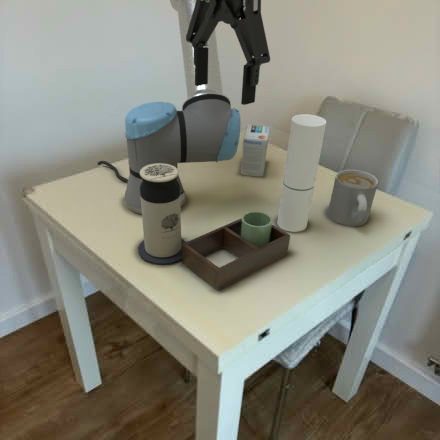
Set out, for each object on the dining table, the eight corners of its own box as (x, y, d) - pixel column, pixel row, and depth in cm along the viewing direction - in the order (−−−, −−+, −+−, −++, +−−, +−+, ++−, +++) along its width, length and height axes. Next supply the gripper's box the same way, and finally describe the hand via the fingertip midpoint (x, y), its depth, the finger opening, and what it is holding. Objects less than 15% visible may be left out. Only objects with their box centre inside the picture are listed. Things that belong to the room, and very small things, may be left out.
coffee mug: (327, 203, 118) (334, 167, 112) (365, 207, 118) (375, 171, 111) (328, 230, 108) (337, 193, 102) (371, 235, 107) (382, 197, 101)
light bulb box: (243, 159, 137) (246, 123, 130) (266, 161, 137) (269, 125, 130) (240, 175, 129) (242, 137, 122) (263, 177, 129) (267, 140, 122)
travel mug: (140, 241, 101) (133, 165, 89) (175, 235, 103) (172, 160, 92) (150, 261, 95) (144, 183, 84) (186, 254, 98) (185, 177, 86)
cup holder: (182, 263, 96) (181, 243, 93) (251, 231, 107) (253, 213, 104) (217, 291, 90) (218, 271, 87) (287, 254, 100) (290, 235, 97)
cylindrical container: (309, 219, 112) (328, 117, 96) (303, 234, 107) (323, 128, 91) (281, 214, 114) (295, 112, 97) (274, 228, 108) (288, 123, 92)
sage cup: (233, 248, 101) (235, 217, 96) (254, 238, 105) (257, 208, 99) (253, 262, 98) (256, 230, 92) (274, 251, 101) (278, 220, 96)
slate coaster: (128, 247, 100) (128, 245, 100) (169, 231, 106) (169, 228, 105) (157, 271, 94) (157, 269, 93) (198, 252, 100) (198, 250, 99)
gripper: (165, -51, 78) (169, 80, 92) (267, -36, 64) (254, 116, 78) (198, -51, 82) (198, 74, 96) (302, -37, 68) (284, 107, 82)
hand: (223, 93), depth 87 cm, fingers open, 13 cm apart
